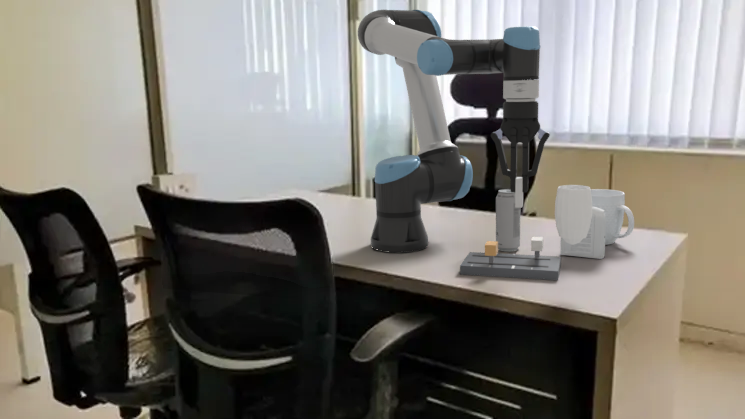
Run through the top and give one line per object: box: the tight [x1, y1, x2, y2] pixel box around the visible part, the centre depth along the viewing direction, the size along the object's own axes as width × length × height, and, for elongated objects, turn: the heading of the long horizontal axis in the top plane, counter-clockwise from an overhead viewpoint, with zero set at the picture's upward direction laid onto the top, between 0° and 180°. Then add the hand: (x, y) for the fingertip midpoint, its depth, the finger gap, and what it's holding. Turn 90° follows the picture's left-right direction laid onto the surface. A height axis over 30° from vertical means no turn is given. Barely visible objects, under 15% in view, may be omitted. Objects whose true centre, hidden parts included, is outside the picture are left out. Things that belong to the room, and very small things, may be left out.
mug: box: [590, 188, 635, 246], centre depth 166 cm, size 15×11×13 cm
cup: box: [554, 184, 592, 245], centre depth 132 cm, size 7×7×21 cm
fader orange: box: [484, 240, 499, 263], centre depth 145 cm, size 2×4×4 cm, turn 162°
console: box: [459, 251, 562, 281], centre depth 147 cm, size 21×12×2 cm, turn 71°
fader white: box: [530, 236, 544, 258], centre depth 147 cm, size 2×4×4 cm, turn 162°
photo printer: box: [559, 206, 606, 260], centre depth 155 cm, size 10×4×12 cm, turn 61°
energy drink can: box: [495, 188, 521, 253], centre depth 164 cm, size 6×6×15 cm
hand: (519, 206), depth 147 cm, fingers closed
